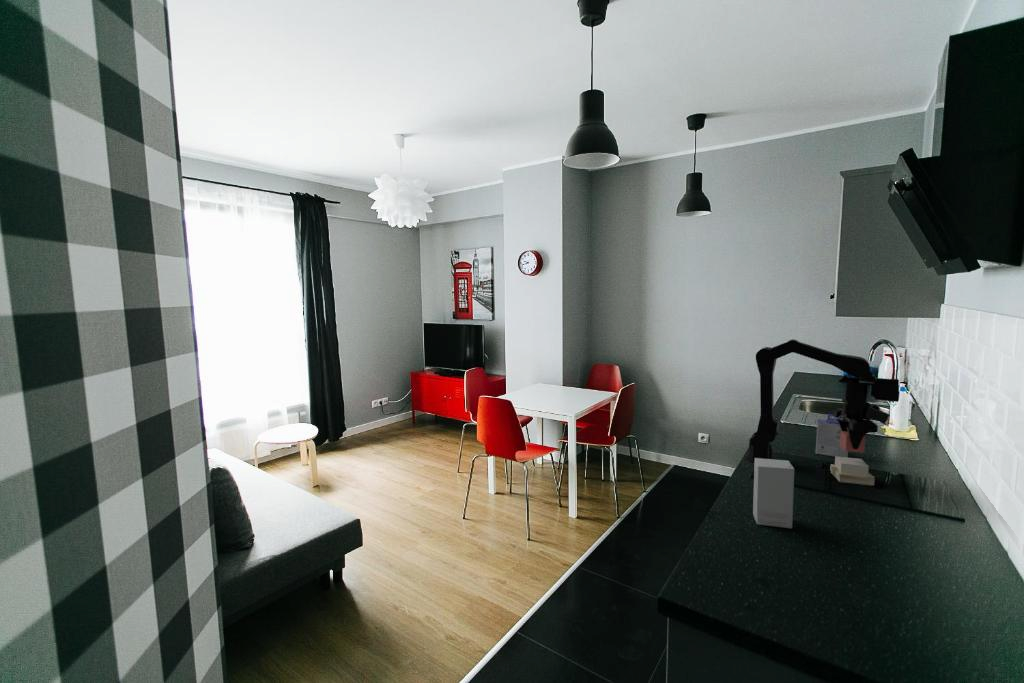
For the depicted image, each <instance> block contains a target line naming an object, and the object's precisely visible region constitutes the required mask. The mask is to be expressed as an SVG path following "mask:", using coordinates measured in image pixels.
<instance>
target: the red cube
mask: <svg viewBox="0 0 1024 683" xmlns="http://www.w3.org/2000/svg"><path fill="white" fill-rule="evenodd" d="M840 447H841V448H842V449H844V450H845V451H849V452H850V453H853V452H854V453H862V454H863V453H865V452H866V451H865V450H866V436H865V435H864V437H863V439H862V441H861V443H860V445H859V447H858V449H853V447H852V444H851V441H850V438H849V434H848V432H846V431H841V438H840ZM849 452H848V453H849Z"/></svg>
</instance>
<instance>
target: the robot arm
mask: <svg viewBox="0 0 1024 683" xmlns="http://www.w3.org/2000/svg"><path fill="white" fill-rule="evenodd" d="M790 354H797V355H800V356H803V357H805V358H810V359H812V360H815V361H818V362H821V363H823V364H827V365H831V366H833V367H835V368H837V369H838V370H840V371H841V372H843V373H845V374H844V375H843V376H841V377H840V378H838V382H839V383H843V384H845V386H844V398H842V399H841V402H842V403H843V408H841V407H836V408H834V410H833V412H832V414H833V416H832V417H833V418H835V419H837V422H838V424H839V426H840V428H841V431H846V432H848V434H849V438H850V441H851V444H852V447H853V449H858V447H859V445H860V443H861V441H862V439H863V437H864V436H865V435H867V434H870V433H878V431H879V430H878V429H879V425H877V424H876V423H875V422H874V421H872V420H875V421H876V422H880V424H883V425H885V424H886V422H887V421H888V419H889V417H890V414H888V413H887V412H885V411H883V410H881V408H880V406H879V405H877V404H874V403H871V404H870V402H868V395H869V394H870V395H869V396H870V397H872V398H874V400H876V401H884V402H893V403H897V402H899V399H900V379H898V378H882V377H881V378H880V377H876V375H875V374H874V373H873V372H872V371H871V367H870V366H871V365H870V363H869V361H868V360H867V359H866V358H864V357H862V356H856V355H850V354H842V353H836V352H833V351H829V350H826V349H823V348H821V347H816V346H814V345H811V344H807V343H804V342H801V341H798V340H797V339H790V340H788V341H786V342H783V343H780V344H777V345H776V346H773V347H768V346H765V347H762V348H761V349H759V350H758V351H757V352H756V353H755V362H756V365H757V370H758V372H759V380H760V381H759V386H760V387H759V388H760V394H759V395H760V397H759V398H760V415H759V416H760V417H759V420H758V425H757V430H756V431H755V432H754V433H752V435H751V437H750V438H749V439H748V441H749V442H748V454H747V456H745V459H746V460H748V461H750V462H751V463H753V464H754V463H755V458H761V459H773V448H772V447H773V446H772V444H770V443H773V442H774V441H775V440H776V438H777V436H778V435H779V434H780V432H781V428H780V422H781V420H780V418H779V419H778V418H777V419H776V418H775V413H774V411H775V410H774V409H775V408H774V405H775V404H774V373H775V368H776V365H777V364H776V363H777V360H778V359H780V358H782V357H785V356H786V355H790ZM847 374H848V375H850V376H851V377H849V376H848V375H847ZM860 378H861V379H862V380H860ZM869 386H870V392H869ZM868 393H869V394H868ZM839 416H840V419H838V417H839Z"/></svg>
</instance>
